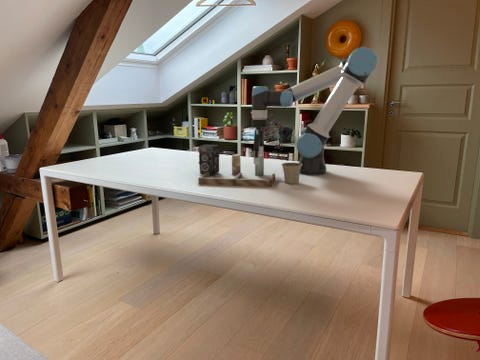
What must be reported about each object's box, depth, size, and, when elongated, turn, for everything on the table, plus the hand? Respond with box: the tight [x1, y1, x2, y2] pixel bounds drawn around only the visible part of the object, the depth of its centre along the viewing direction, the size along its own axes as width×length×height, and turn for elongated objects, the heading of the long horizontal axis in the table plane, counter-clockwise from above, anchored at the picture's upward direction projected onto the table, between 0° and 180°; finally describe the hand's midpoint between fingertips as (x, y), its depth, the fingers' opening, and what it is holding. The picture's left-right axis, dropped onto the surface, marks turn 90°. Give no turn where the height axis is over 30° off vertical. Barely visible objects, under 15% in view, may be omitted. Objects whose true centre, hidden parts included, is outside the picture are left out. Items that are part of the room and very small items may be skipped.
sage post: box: [254, 154, 265, 177], centre depth 180 cm, size 4×4×10 cm
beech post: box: [231, 153, 242, 176], centre depth 183 cm, size 4×4×10 cm
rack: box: [197, 172, 276, 188], centre depth 168 cm, size 34×14×3 cm, turn 79°
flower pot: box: [281, 162, 302, 185], centre depth 165 cm, size 9×9×9 cm
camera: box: [197, 144, 221, 176], centre depth 183 cm, size 10×10×15 cm
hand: (258, 161), depth 180 cm, fingers open, 13 cm apart
